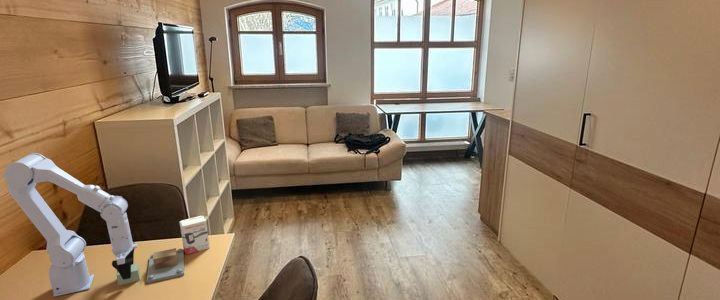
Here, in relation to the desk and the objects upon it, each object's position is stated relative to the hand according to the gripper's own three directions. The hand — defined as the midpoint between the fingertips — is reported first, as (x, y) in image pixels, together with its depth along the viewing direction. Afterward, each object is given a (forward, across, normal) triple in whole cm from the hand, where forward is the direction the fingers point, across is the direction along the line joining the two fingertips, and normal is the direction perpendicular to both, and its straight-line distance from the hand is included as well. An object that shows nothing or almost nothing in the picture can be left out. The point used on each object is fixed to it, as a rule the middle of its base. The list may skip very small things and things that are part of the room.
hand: (128, 271), depth 129 cm
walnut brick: (+2, +3, -11) cm, 12 cm away
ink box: (+3, +11, -21) cm, 24 cm away
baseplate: (+3, +3, -11) cm, 12 cm away
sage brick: (+3, 0, 0) cm, 3 cm away
